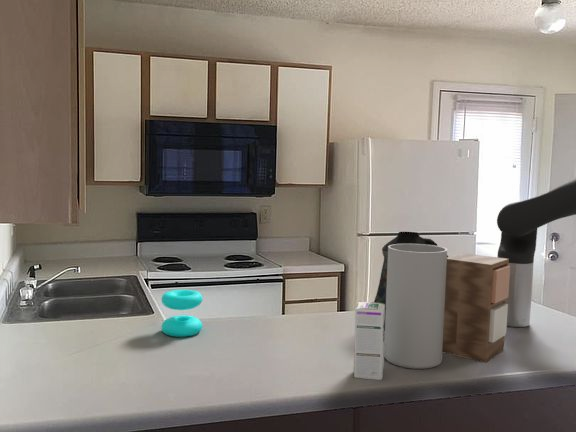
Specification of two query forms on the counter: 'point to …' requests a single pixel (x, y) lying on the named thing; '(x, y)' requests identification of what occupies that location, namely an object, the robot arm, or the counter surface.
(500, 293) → the salmon pink block
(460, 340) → the wooden drawer cabinet
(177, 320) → the donuts
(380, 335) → the syrup box
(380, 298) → the beer stein
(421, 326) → the cylinder vase
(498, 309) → the light grey drawer
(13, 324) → the counter surface
